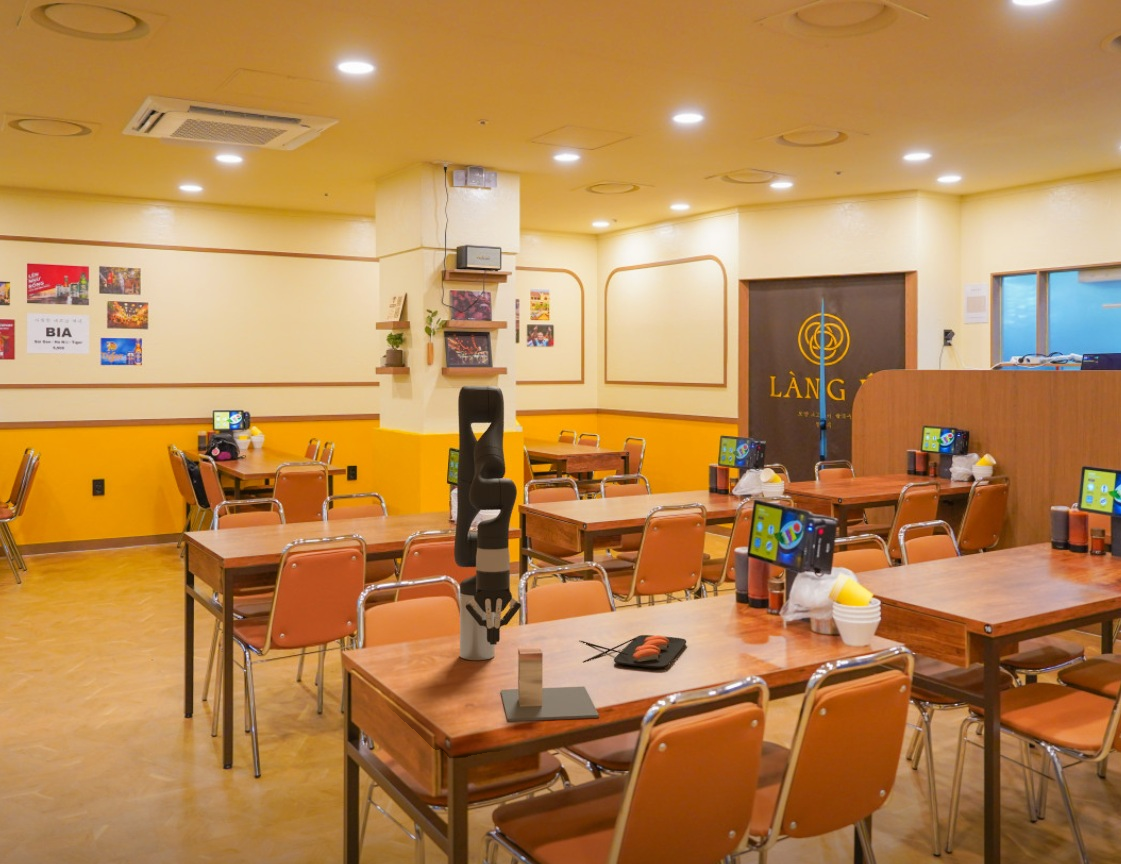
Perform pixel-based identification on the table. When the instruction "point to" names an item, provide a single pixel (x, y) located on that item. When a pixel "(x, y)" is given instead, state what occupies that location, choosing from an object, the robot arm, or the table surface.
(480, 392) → the robot arm
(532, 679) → the birch block
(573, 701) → the slate mat
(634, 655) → the sushi plate
